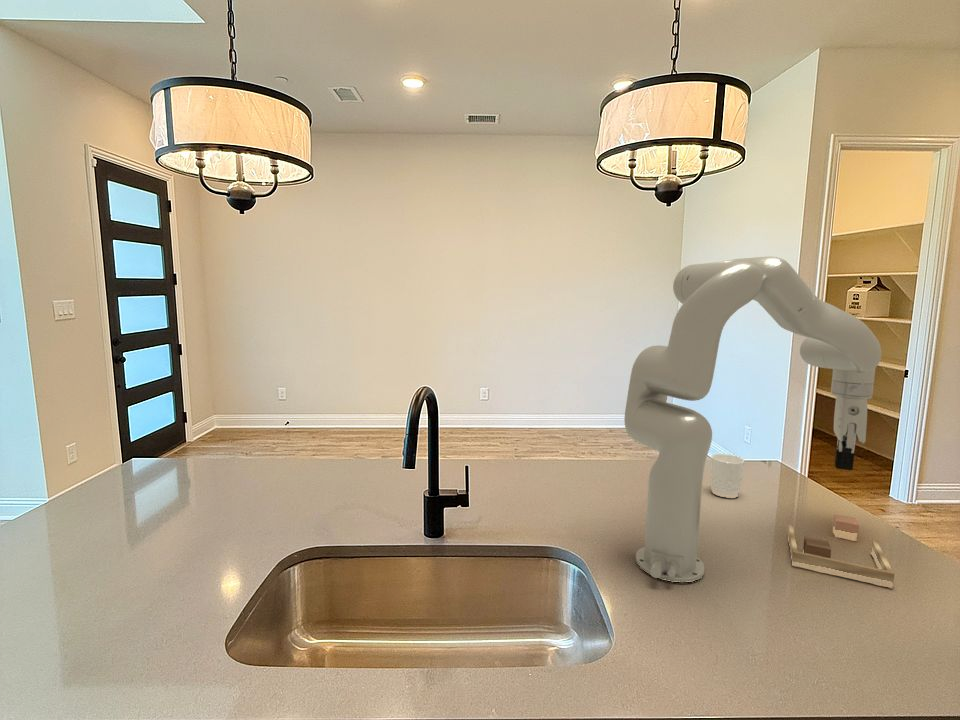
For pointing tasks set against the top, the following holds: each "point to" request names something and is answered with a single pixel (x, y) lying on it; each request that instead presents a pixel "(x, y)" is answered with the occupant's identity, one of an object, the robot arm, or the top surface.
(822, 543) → the walnut block
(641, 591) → the top surface
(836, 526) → the terracotta block
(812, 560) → the tan u-shaped piece
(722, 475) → the white cup
